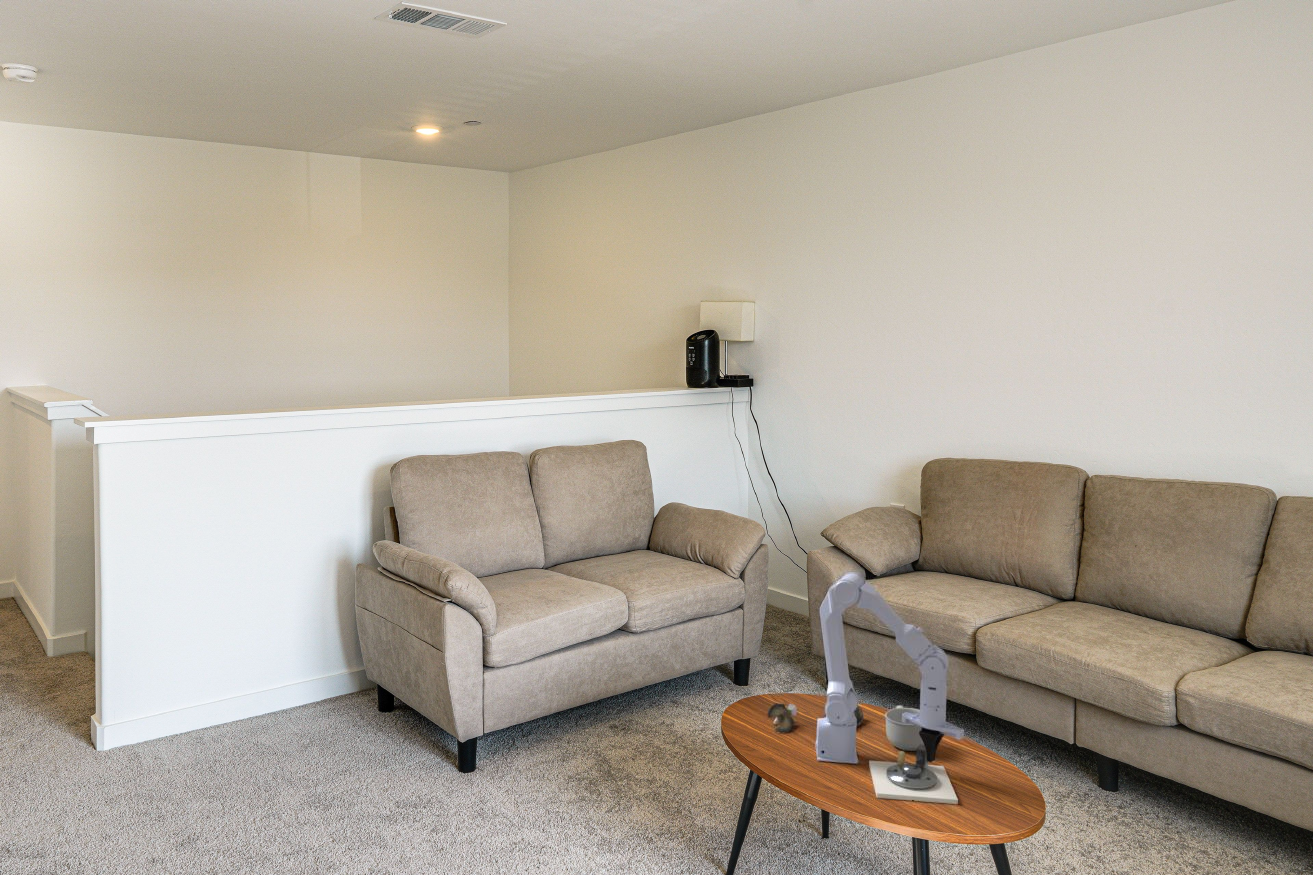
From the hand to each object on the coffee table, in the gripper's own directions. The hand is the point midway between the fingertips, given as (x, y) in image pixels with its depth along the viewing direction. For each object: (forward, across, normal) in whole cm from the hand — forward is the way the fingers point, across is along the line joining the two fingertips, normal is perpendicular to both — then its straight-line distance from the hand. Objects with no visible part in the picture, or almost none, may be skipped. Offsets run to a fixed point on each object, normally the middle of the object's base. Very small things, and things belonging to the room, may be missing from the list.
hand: (930, 760), depth 212 cm
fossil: (+3, +31, -11) cm, 33 cm away
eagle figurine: (+3, +41, +3) cm, 41 cm away
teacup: (+3, +13, -11) cm, 18 cm away
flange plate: (+2, +1, +6) cm, 6 cm away
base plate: (+3, 0, +8) cm, 9 cm away
